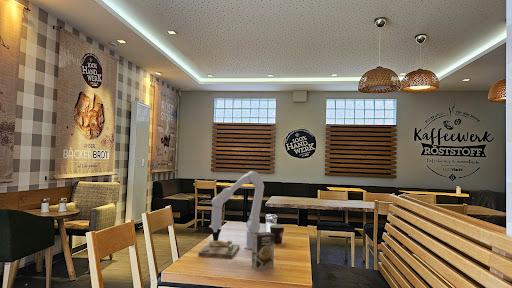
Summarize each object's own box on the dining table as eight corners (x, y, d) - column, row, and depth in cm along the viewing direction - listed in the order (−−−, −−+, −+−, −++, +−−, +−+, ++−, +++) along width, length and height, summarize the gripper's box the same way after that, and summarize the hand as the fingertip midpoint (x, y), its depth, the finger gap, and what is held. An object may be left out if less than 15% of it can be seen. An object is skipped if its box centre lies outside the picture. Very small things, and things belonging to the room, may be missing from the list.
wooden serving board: (239, 248, 199) (239, 240, 199) (232, 258, 179) (232, 249, 179) (208, 246, 202) (209, 238, 202) (198, 256, 182) (198, 247, 182)
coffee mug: (274, 244, 210) (274, 228, 210) (267, 241, 217) (267, 225, 217) (290, 243, 215) (290, 226, 215) (282, 240, 223) (283, 224, 223)
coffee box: (256, 270, 162) (257, 235, 163) (251, 266, 168) (252, 232, 169) (274, 268, 166) (275, 234, 166) (268, 264, 172) (269, 231, 172)
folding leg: (231, 245, 197) (232, 240, 197) (231, 246, 195) (231, 241, 195) (210, 244, 197) (210, 240, 197) (209, 245, 195) (209, 241, 195)
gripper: (210, 215, 205) (209, 239, 205) (208, 220, 191) (207, 245, 190) (222, 216, 205) (221, 239, 205) (221, 220, 191) (220, 245, 190)
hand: (215, 242), depth 198 cm, fingers closed, pressing on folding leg
